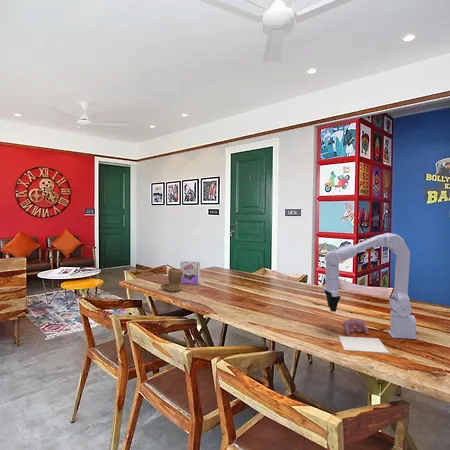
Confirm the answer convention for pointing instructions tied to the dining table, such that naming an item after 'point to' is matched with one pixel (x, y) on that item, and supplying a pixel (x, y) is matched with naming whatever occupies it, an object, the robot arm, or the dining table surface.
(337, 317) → the dining table surface
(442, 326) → the dining table surface
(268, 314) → the dining table surface
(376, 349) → the mat
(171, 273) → the brown hat
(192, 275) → the candy box
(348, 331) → the video game controller
